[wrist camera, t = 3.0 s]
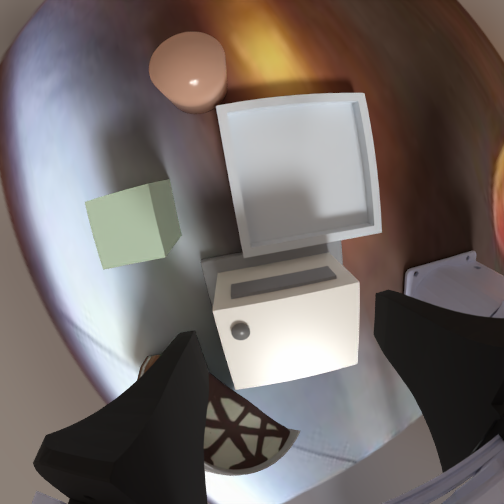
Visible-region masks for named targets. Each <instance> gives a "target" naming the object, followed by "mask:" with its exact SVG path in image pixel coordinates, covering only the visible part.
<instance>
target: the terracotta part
mask: <svg viewBox="0 0 504 504" xmlns="http://www.w3.org/2000/svg"><path fill="white" fill-rule="evenodd" d="M149 74H150V78H151V80H152V82H153V84H154V85H155V86H156V87H157V88H158V89H159V90H160V91H161V92H162V93H163V94H164V95H165V96H166V97H167V98H168V99H169V100H170V101H171V102H172V103H173V104H174V105H175V106H176V107H177V108H178V109H180V110H181V111H183V112H186V113H189V114H202V113H206V112H208V111H211V110H213V109H214V108H216V106H218V105H219V104H220V103H221V102H222V101H223V99H224V97H225V95H226V92H227V72H226V59H225V53H224V50H223V47H222V46H221V44H220V43H219V42H218V41H217V40H216V39H215V38H214V37H212V36H210V35H208V34H205V33H202V32H184V33H180V34H177V35H174V36H172V37H170V38H168V39H167V40H165V41H164V42H163V43H162V44H160V45H159V46H158V48H157V49H156V50H155V51H154V53H153V55H152V57H151V60H150V63H149Z"/></svg>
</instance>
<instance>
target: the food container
mask: <svg viewBox="0 0 504 504" xmlns="http://www.w3.org/2000/svg"><path fill="white" fill-rule="evenodd" d="M160 355H161V354H160ZM160 355H154V356H147V357H146V359H145V361H144V362H143V364H142V366H141V367H140V371H139V375H138V379H139V378H140V377H141V376H142V375H143V374H144V373H145V372H146V371H147V370H148V369H149V368H150V367H151V366H152V365H153V364H154V362H155V361H156V360H157V359H158V358H159V357H160ZM138 379H137V380H138ZM299 433H300V431H298V430H293V429H287V428H286V427H285V426H282V425H280V424H279V423H277V422H276V421H274V420H273V419H271V418H270V417H268V416H267V415H266V414H264V413H263V412H262V411H261V410H259V409H258V408H257V407H256V406H254V405H253V404H252V403H251V402H249V401H248V400H246V399H245V398H243V397H242V396H240V395H239V394H237V393H236V392H235V391H233V390H232V389H230V388H229V387H228V386H226V385H225V384H223V383H222V382H221V381H219V380H218V379H217V378H216V377H214V376H213V375H212V374H211V373H209V397H208V407H207V416H206V425H205V434H204V469H205V471H207V472H211V473H216V474H222V475H229V476H231V475H243V474H251V473H255V472H258V471H261V470H263V469H265V468H267V467H269V466H271V465H272V464H274V463H276V462H277V461H278V460H279V459H280V458H281V457H283V456H284V455H285V454H286V452H287V451H288V450H289V449H290V448H291V446H292V445H293V443H294V442H295V441H296V439H297V437H298V435H299Z"/></svg>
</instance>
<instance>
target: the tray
mask: <svg viewBox="0 0 504 504" xmlns="http://www.w3.org/2000/svg"><path fill="white" fill-rule="evenodd" d="M216 110H217V116H218V122H219V127H220V133H221V138H222V144H223V149H224V155H225V160H226V166H227V171H228V177H229V182H230V188H231V193H232V198H233V204H234V209H235V214H236V220H237V225H238V230H239V236H240V241H241V246H242V251H243V257H244V258H248V257H253V256H259V255H264V254H270V253H275V252H280V251H286V250H291V249H297V248H302V247H307V246H313V245H318V244H324V243H329V242H334V241H340V240H345V239H350V238H356V237H361V236H366V235H371V234H377V233H382V226H381V208H380V195H379V184H378V174H377V166H376V158H375V150H374V143H373V137H372V131H371V125H370V119H369V114H368V109H367V104H366V99H365V94H364V93H321V94H303V95H290V96H280V97H270V98H262V99H254V100H247V101H241V102H235V103H229V104H223V105H218V106H216Z"/></svg>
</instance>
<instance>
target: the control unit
mask: <svg viewBox="0 0 504 504" xmlns="http://www.w3.org/2000/svg"><path fill="white" fill-rule="evenodd" d="M201 266H202V270H203V274H204V278H205V282H206V286H207V290H208V294H209V297H210V301H211V305H212V309H213V314H214V318H215V322H216V325H217V329H218V333H219V336H220V340H221V343H222V346H223V350H224V353H225V357H226V360H227V363H228V367H229V370H230V373H231V377H232V380H233V383H234V386H235V389H236V390H237V389H244V388H251V387H257V386H263V385H269V384H275V383H280V382H285V381H290V380H295V379H300V378H304V377H308V376H313V375H317V374H321V373H325V372H329V371H333V370H337V369H340V368H344V367H348V366H351V365H354V364H357V360H358V342H359V306H360V289H359V281H358V280H357V279H356V278H355V277H354V276H353V275H352V274H351V273H350V272H349V271H348V270H347V269H346V268H345V267H344V266H343V263H342V247H341V240H340V241H334V242H329V243H324V244H318V245H313V246H307V247H302V248H297V249H291V250H286V251H280V252H275V253H270V254H264V255H259V256H253V257H248V258H244V257H243V252H240V253H234V254H229V255H224V256H218V257H213V258H207V259H202V260H201Z"/></svg>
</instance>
